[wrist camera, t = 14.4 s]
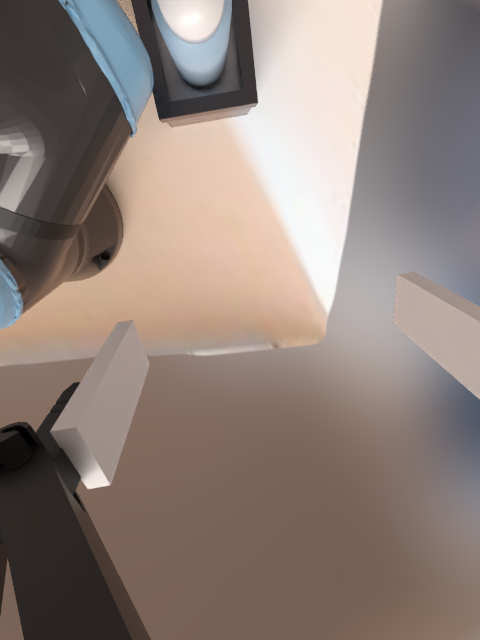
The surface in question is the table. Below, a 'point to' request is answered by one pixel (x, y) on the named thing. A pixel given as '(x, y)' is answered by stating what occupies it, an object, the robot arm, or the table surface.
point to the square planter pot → (191, 102)
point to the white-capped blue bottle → (195, 37)
